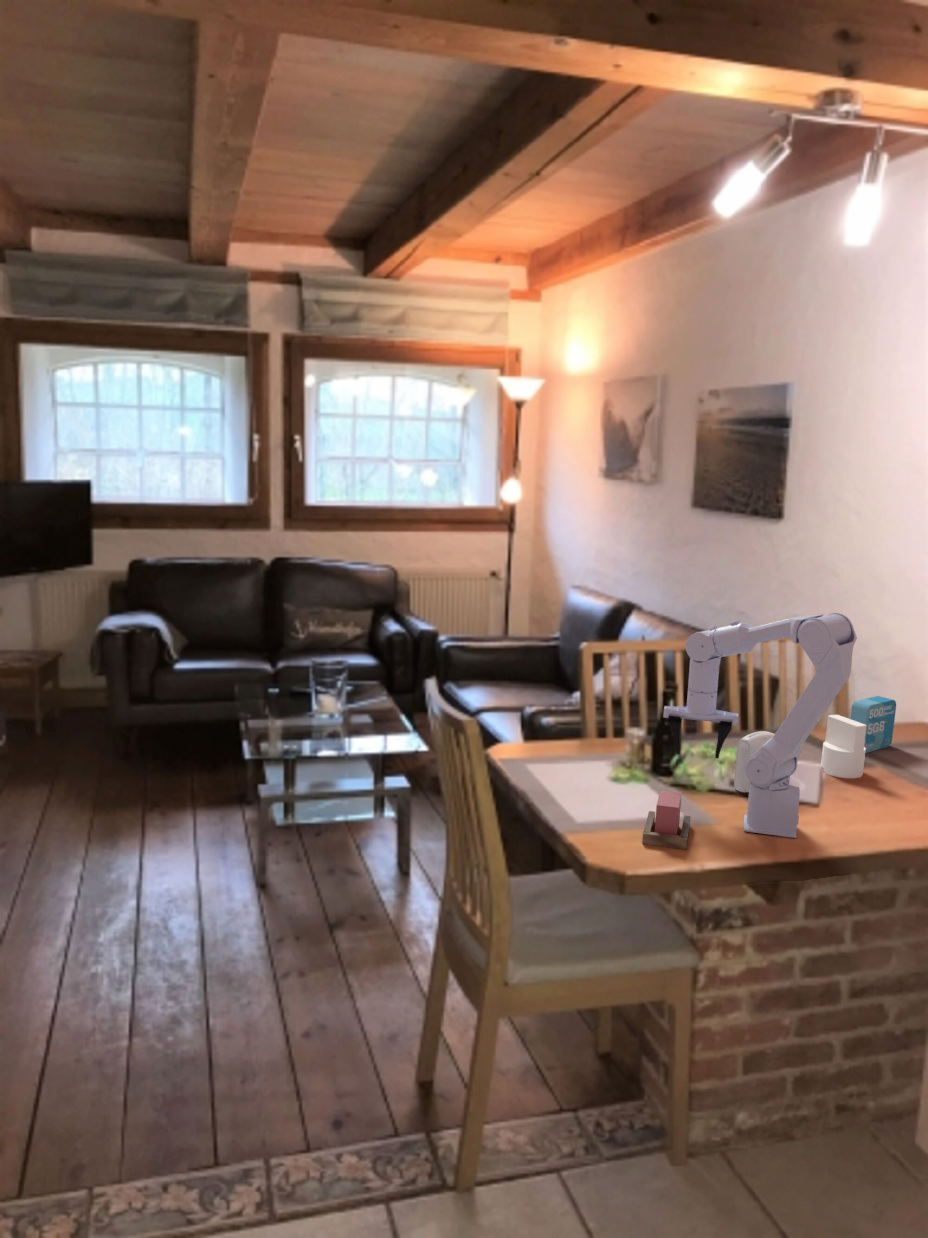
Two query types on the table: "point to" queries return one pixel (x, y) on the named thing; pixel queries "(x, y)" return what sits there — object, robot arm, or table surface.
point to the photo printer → (744, 751)
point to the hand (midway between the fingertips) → (697, 754)
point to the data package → (875, 720)
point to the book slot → (665, 839)
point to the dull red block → (668, 812)
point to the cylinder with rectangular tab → (844, 747)
